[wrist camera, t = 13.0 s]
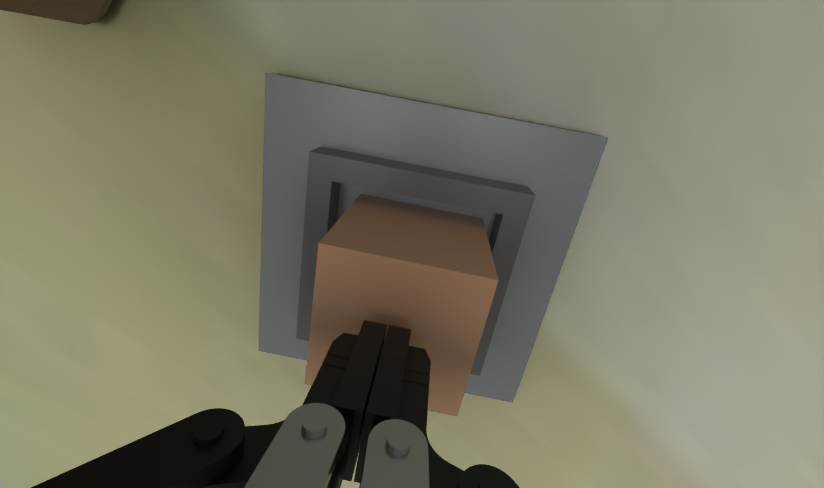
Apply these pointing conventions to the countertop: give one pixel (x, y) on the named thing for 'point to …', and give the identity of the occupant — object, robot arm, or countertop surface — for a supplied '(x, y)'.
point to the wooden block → (60, 9)
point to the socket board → (418, 202)
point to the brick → (406, 286)
